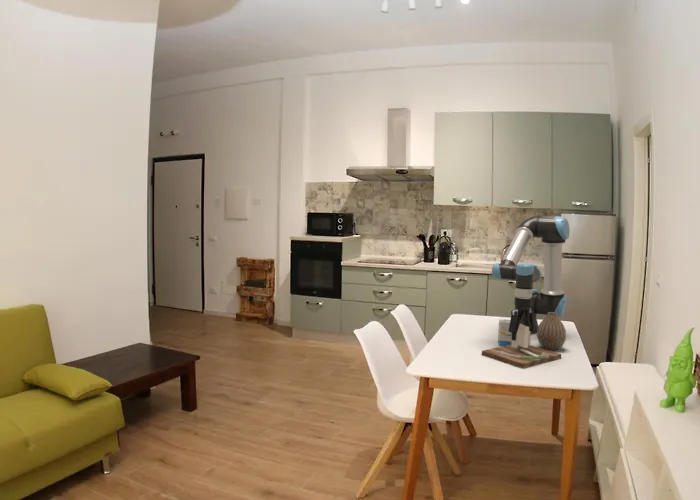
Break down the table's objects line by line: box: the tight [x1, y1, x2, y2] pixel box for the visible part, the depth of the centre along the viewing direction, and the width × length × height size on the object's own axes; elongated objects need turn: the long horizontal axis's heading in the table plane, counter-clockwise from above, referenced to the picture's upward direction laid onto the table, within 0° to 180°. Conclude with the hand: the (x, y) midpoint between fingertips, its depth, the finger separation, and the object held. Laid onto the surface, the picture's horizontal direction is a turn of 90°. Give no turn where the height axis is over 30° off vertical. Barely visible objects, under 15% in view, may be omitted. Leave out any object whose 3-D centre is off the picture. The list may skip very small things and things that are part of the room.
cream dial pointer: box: [517, 324, 539, 357], centre depth 219 cm, size 16×2×12 cm, turn 16°
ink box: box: [497, 318, 512, 347], centre depth 241 cm, size 9×8×12 cm
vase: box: [536, 312, 567, 351], centre depth 235 cm, size 13×13×18 cm
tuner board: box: [481, 344, 562, 369], centre depth 220 cm, size 28×22×2 cm
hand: (520, 345), depth 223 cm, fingers open, 8 cm apart
